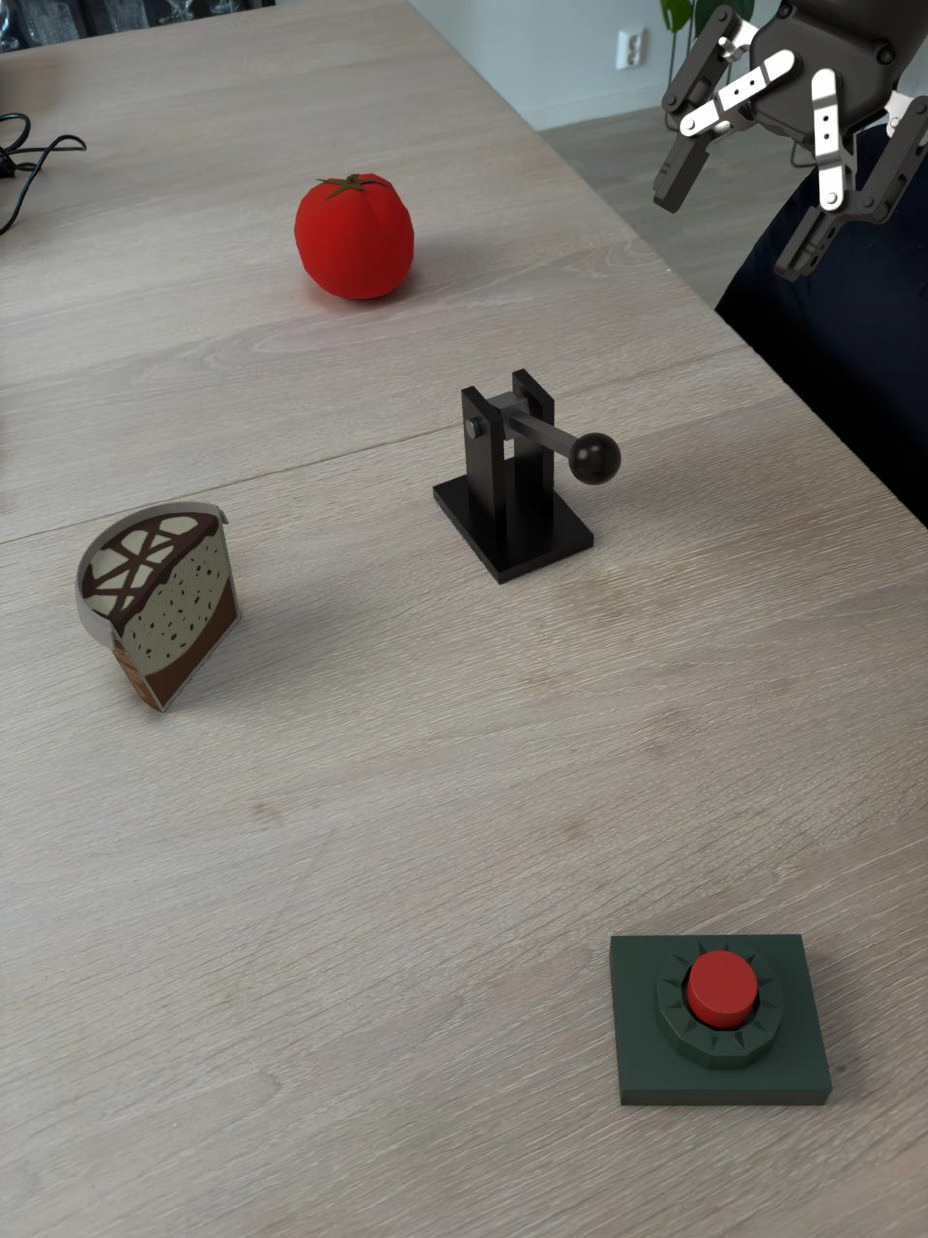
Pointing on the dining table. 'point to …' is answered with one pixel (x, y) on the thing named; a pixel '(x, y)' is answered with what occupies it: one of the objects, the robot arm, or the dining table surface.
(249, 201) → the dining table surface
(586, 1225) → the dining table surface
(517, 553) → the black bracket
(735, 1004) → the button
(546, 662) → the dining table surface
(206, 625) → the cake slice
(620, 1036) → the control block
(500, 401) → the lever
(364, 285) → the tomato
